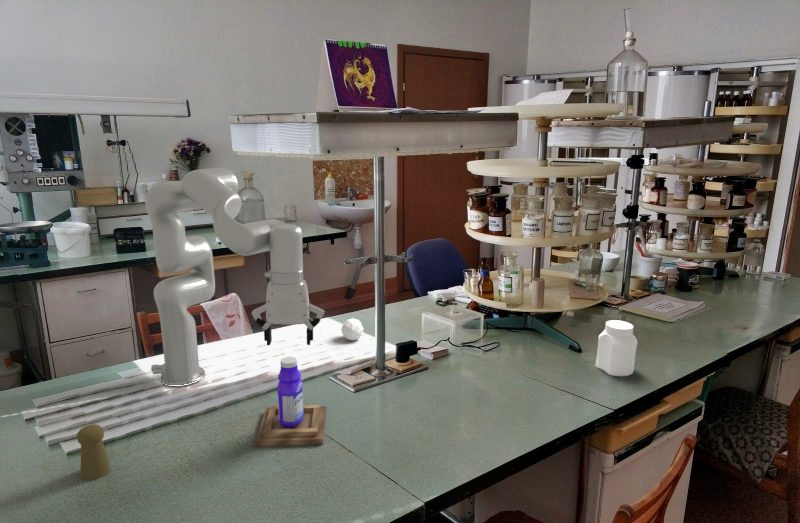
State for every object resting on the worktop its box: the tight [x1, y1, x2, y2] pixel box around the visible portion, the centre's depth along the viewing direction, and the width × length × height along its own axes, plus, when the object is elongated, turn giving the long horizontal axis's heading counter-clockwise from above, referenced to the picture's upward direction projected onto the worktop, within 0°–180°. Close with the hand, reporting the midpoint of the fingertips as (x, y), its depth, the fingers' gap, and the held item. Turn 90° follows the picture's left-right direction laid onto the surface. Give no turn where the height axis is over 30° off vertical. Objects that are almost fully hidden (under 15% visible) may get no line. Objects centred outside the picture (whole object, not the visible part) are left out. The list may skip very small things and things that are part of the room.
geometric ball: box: [341, 317, 365, 342], centre depth 201 cm, size 8×8×8 cm
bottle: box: [276, 356, 304, 428], centre depth 143 cm, size 7×6×17 cm
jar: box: [595, 319, 638, 377], centre depth 180 cm, size 12×10×15 cm
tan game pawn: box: [76, 424, 112, 481], centre depth 125 cm, size 6×6×11 cm
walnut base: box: [255, 404, 327, 447], centre depth 145 cm, size 16×16×3 cm
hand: (289, 343), depth 140 cm, fingers open, 9 cm apart
